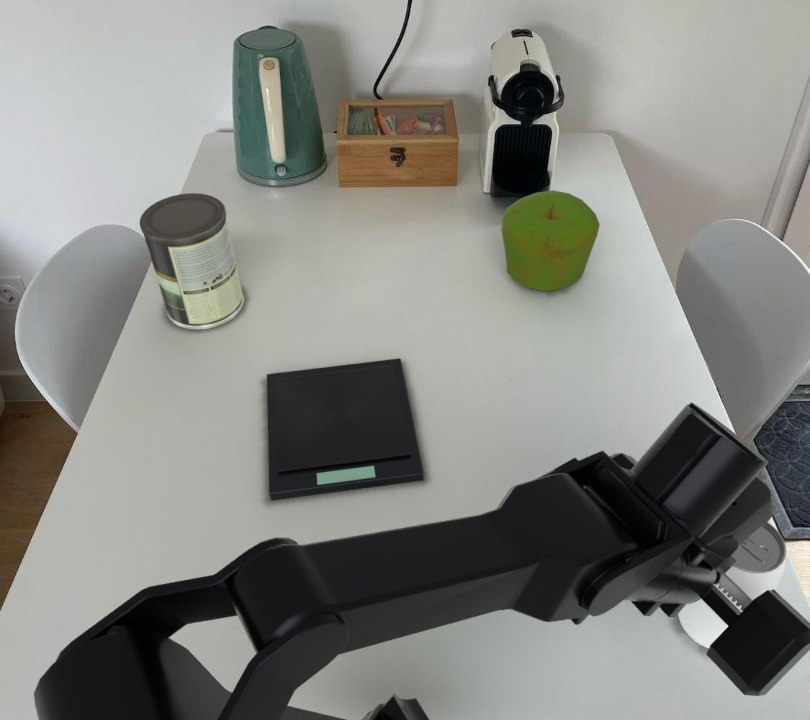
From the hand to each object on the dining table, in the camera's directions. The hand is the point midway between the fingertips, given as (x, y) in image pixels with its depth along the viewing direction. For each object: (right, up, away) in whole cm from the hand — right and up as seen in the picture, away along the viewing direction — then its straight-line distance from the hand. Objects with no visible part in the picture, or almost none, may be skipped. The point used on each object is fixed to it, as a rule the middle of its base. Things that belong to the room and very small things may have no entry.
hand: (722, 571), depth 65 cm
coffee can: (-52, +24, +43) cm, 72 cm away
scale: (-33, +9, +26) cm, 43 cm away
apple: (-6, +28, +45) cm, 54 cm away
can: (+2, -6, +7) cm, 10 cm away
